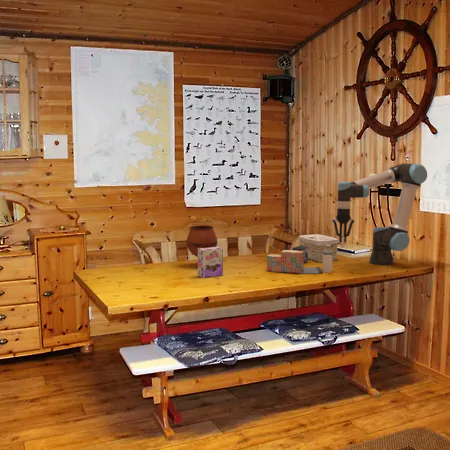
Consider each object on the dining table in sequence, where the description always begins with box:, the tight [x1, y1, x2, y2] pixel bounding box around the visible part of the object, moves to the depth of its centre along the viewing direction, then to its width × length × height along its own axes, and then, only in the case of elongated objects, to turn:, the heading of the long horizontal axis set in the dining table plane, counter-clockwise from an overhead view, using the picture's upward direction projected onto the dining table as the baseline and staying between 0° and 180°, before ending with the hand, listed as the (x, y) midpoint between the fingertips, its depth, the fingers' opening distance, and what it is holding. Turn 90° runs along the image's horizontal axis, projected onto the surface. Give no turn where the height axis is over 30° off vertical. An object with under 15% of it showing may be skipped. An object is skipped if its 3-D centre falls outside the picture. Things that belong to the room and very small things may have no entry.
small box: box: [291, 245, 309, 264], centre depth 368 cm, size 11×6×10 cm, turn 143°
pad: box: [299, 266, 324, 275], centre depth 345 cm, size 14×16×1 cm
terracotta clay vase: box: [186, 224, 218, 268], centre depth 360 cm, size 19×19×25 cm
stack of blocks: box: [266, 249, 305, 274], centre depth 343 cm, size 21×6×12 cm, turn 66°
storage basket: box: [298, 233, 339, 263], centre depth 382 cm, size 24×16×15 cm
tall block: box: [321, 251, 333, 273], centre depth 344 cm, size 5×6×12 cm
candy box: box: [197, 246, 224, 279], centre depth 333 cm, size 14×6×16 cm, turn 117°
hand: (342, 247), depth 342 cm, fingers closed
